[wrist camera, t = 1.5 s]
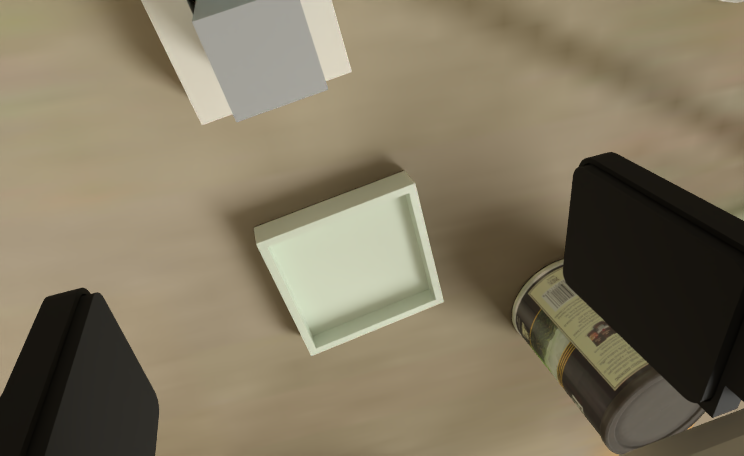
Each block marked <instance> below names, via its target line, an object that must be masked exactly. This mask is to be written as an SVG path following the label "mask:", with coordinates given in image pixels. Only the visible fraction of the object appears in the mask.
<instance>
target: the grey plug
mask: <svg viewBox="0 0 744 456" xmlns="http://www.w3.org/2000/svg"><path fill="white" fill-rule="evenodd" d="M192 23H193V26H194V28H195V30H196V32H197V35H198V37H199V39H200V41H201V44H202V46H203V48H204V50H205V53H206V55H207V57H208V59H209V62H210V64H211V66H212V68H213V71H214V73H215V75H216V77H217V80H218V82H219V84H220V86H221V89H222V91H223V93H224V95H225V98H226V100H227V102H228V104H229V107H230V109H231V111H232V113H233V116H234V118H235V120H236V122H239V121H242V120H245V119H247V118H250V117H253V116H256V115H259V114H261V113H264V112H267V111H270V110H273V109H275V108H278V107H281V106H284V105H287V104H289V103H292V102H295V101H298V100H301V99H303V98H306V97H309V96H312V95H315V94H317V93H320V92H323V91H326V90H328V87H327V84H326V81H325V77H324V74H323V71H322V68H321V65H320V62H319V59H318V55H317V52H316V49H315V46H314V43H313V40H312V37H311V33H310V30H309V27H308V24H307V21H306V18H305V15H304V11H303V8H302V5H301V2H300V0H196V4H195V9H194V14H193V19H192Z"/></svg>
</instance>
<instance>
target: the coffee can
mask: <svg viewBox="0 0 744 456" xmlns="http://www.w3.org/2000/svg"><path fill="white" fill-rule="evenodd" d="M563 263H564V259H563V260H559V261H556V262H554V263H552V264H550V265H548V266H547V267H545V268H543V269H542V270H540V271H539V272H538V273H536V274H535V275H534V276H533V277H532V278H531V279H530V280H529V281H528V282H527V283H526V284H525V285H524V286H523V288H522V289H521V291H520V292H519V294H518V296H517V298H516V300H515V302H514V305H513V309H512V322H513V325H514V327H515V329H516V330H517V332H518V333H519V334H520V335H522V337H523V338H524V339H525V340H526V342H527V343H528V344H529V345H530V347H531V348H532V349H533V350H534V352H535V353H536V354H537V355H538V357H539V358H540V359H541V361H542V362H543V363H544V364H545V366H546V367H547V368H548V369H549V371H550V372H551V373H552V374H553V376H554V377H555V378H556V380H557V381H558V382H559V383H560V385H561V386H562V387H563V388H564V390H565V391H566V392H567V394H568V395H569V396H570V397H571V399H572V400H573V401H574V403H575V404H576V405H577V406H578V408H579V409H580V410H581V412H582V413H583V414H584V415H585V417H586V418H587V419H588V420H589V422H590V423H591V424H592V426H593V427H594V428H595V429H596V431H597V432H598V433H599V434H600V436H601V438H602V440H603V442H604V443H605V445H606V446H607V447H608V449H609V450H610V451H612V452H614V453H616V454H620V455H622V454H625V453H627V452H630V451H632V450H635V449H638V448H640V447H643V446H646V445H648V444H651V443H654V442H656V441H659V440H662V439H664V438H667V437H670V436H672V435H675V434H678V433H680V432H683V431H685V430H687V429H688V428H689V427H691V426H692V425H693V424H694V423H695V422H696V421H697V420H698V419H699V418H700V417H701V416H702V415H703V414H704V413H705V412H706V411H705V410H703V409H702V408H701V407H700V406H699V405H698V404H697V403H692V402H690V401H688V400H686V399H685V398H684V397H683V396H682V395H681V394H680V393H679V392H678V391H677V390H676V389H674V388H673V387H672V386H671V385H670V384H669V383H668V382H667V381H666V380H665V379H664V378H663V377H662V376H661V375H660V374H659V373H658V372H657V371H656V370H655V369H654V368H653V367H652V366H651V365H650V364H649V363H647V362H646V361H645V360H644V359H643V358H642V357H641V356H640V355H639V354H638V353H637V352H636V351H635V350H634V349H633V348H632V347H631V346H630V345H629V344H628V343H627V342H626V341H625V340H624V339H623V338H622V337H621V336H619V335H618V334H617V333H616V332H615V331H614V330H613V329H612V328H611V327H610V326H609V325H608V324H607V323H606V322H605V321H604V320H603V319H602V318H601V317H600V316H599V315H598V314H597V313H596V312H595V311H594V310H592V309H591V308H590V307H589V306H588V305H587V304H586V303H585V302H584V301H583V300H582V299H581V298H580V297H579V296H578V295H577V294H576V293H575V292H574V291H573V290H572V289H571V288H570V287H569V286H568V285H567V283H566V282H565V279H564V276H563Z"/></svg>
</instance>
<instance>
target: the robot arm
mask: <svg viewBox="0 0 744 456" xmlns="http://www.w3.org/2000/svg"><path fill="white" fill-rule="evenodd" d="M718 1H724V2H734V3H737V2H744V0H718ZM563 276H564V279H565V282H566V283H567V285H568V286H569V287H570V288H571V289H572V290H573V291H574V292H575V293H576V294H577V295H578V296H579V297H580V298H581V299H582V300H583V301H584V302H585V303H586V304H587V305H588V306H589V307H590V308H591V309H592V310H594V311H595V312H596V313H597V314H598V315H599V316H600V317H601V318H602V319H603V320H604V321H605V322H606V323H607V324H608V325H609V326H610V327H611V328H612V329H613V330H614V331H615V332H616V333H617V334H618V335H619V336H621V337H622V338H623V339H624V340H625V341H626V342H627V343H628V344H629V345H630V346H631V347H632V348H633V349H634V350H635V351H636V352H637V353H638V354H639V355H640V356H641V357H642V358H643V359H644V360H645V361H646V362H647V363H649V364H650V365H651V366H652V367H653V368H654V369H655V370H656V371H657V372H658V373H659V374H660V375H661V376H662V377H663V378H664V379H665V380H666V381H667V382H668V383H669V384H670V385H671V386H672V387H673V388H674V389H676V390H677V391H678V392H679V393H680V394H681V395H682V396H683V397H684V398H685V399H686V400H688V401H690V402H692V403H697V404H698V405H699V406H700V407H701V408H702V409H703V410H705V411H706V412H707V413H708V414H709V415H710V416H711V417H712V418H714V417H716V416H719V415H721V414H724V413H727V412H729V411H732V410H734V409H737V408H738V406H739V403H740V401H741V400H742V401H744V221H743V220H741V219H739V218H737V217H735V216H733V215H731V214H730V213H728V212H726V211H724V210H722V209H720V208H718V207H716V206H714V205H713V204H711V203H709V202H707V201H705V200H703V199H701V198H699V197H697V196H696V195H694V194H692V193H690V192H688V191H686V190H684V189H682V188H680V187H679V186H677V185H675V184H673V183H671V182H669V181H667V180H665V179H663V178H662V177H660V176H658V175H656V174H654V173H652V172H650V171H648V170H646V169H645V168H643V167H641V166H639V165H637V164H635V163H633V162H631V161H629V160H628V159H626V158H624V157H622V156H620V155H618V154H616V153H613V152H609V153H604V154H600V155H596V156H593V157H589V158H585V159H584V160H582V161H581V163H580V165H579V167H578V168H577V169H576V170H575V171H574V174H573V182H572V191H571V200H570V209H569V218H568V227H567V236H566V245H565V254H564V263H563ZM158 419H159V404H158V399H157V396H156V393H155V391H154V389H153V388H152V386H151V384H150V382H149V380H148V378H147V377H146V375H145V373H144V371H143V369H142V367H141V365H140V364H139V362H138V360H137V358H136V356H135V354H134V353H133V351H132V349H131V347H130V345H129V343H128V342H127V340H126V338H125V336H124V334H123V332H122V331H121V329H120V327H119V325H118V323H117V321H116V319H115V318H114V316H113V314H112V312H111V310H110V308H109V307H108V305H107V303H106V301H105V299H104V298H103V296H102V295H101V294H100V293H93V294H90V292H89V291H88V290H87V289H85V288H79V289H75V290H71V291H67V292H63V293H60V294H56V295H52V296H48V297H46V298H45V299H44V301H43V303H42V305H41V307H40V309H39V312H38V314H37V316H36V319H35V321H34V323H33V325H32V328H31V330H30V332H29V334H28V337H27V339H26V341H25V344H24V346H23V348H22V350H21V353H20V355H19V357H18V359H17V362H16V364H15V366H14V369H13V371H12V373H11V375H10V378H9V380H8V382H7V384H6V387H5V389H4V391H3V394H2V395H1V397H0V456H155V450H156V440H157V429H158ZM619 456H744V409H741V410H739V411H736V412H733V413H731V414H728V415H726V416H723V417H720V418H717V419H715V420H712V421H709V422H707V423H704V424H701V425H699V426H696V427H693V428H691V429H688V430H686V431H683V432H680V433H678V434H675V435H672V436H670V437H667V438H664V439H662V440H659V441H656V442H654V443H651V444H648V445H646V446H643V447H640V448H638V449H635V450H632V451H630V452H627V453H625V454H622V455H619Z"/></svg>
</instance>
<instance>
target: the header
mask: <svg viewBox="0 0 744 456" xmlns="http://www.w3.org/2000/svg"><path fill="white" fill-rule="evenodd" d="M141 1H142V3H143V6H144V8H145V10H146V12H147V14H148V16H149V18H150V20H151V22H152V24H153V26H154V28H155V30H156V32H157V34H158V36H159V38H160V40H161V42H162V44H163V46H164V49H165V51H166V53H167V55H168V57H169V59H170V61H171V63H172V65H173V67H174V69H175V71H176V73H177V75H178V77H179V79H180V81H181V83H182V85H183V87H184V89H185V91H186V94H187V96H188V98H189V100H190V102H191V104H192V106H193V108H194V110H195V112H196V114H197V116H198V118H199V120H200V122H201V124H202V125H204V124H207V123H209V122H212V121H215V120H218V119H221V118H223V117H226V116H229V115H232V114H233V113H232V111H231V109H230V107H229V104H228V102H227V100H226V98H225V95H224V93H223V91H222V89H221V86H220V84H219V82H218V80H217V77H216V75H215V73H214V71H213V68H212V66H211V64H210V62H209V59H208V57H207V55H206V53H205V50H204V48H203V46H202V44H201V41H200V39H199V37H198V35H197V32H196V30H195V28H194V26H193V23H192V19H193V14H194V9H195V5H194V2H193V0H141ZM300 2H301V5H302V8H303V11H304V15H305V18H306V21H307V24H308V27H309V30H310V33H311V37H312V40H313V43H314V46H315V49H316V52H317V55H318V59H319V62H320V65H321V68H322V71H323V74H324V77H325V81H328V80H330V79H333V78H336V77H339V76H342V75H345V74H347V73H350V72H352V70H351V67H350V63H349V60H348V56H347V53H346V49H345V46H344V42H343V39H342V35H341V32H340V28H339V25H338V21H337V18H336V14H335V11H334V7H333V4H332V0H300Z"/></svg>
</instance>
